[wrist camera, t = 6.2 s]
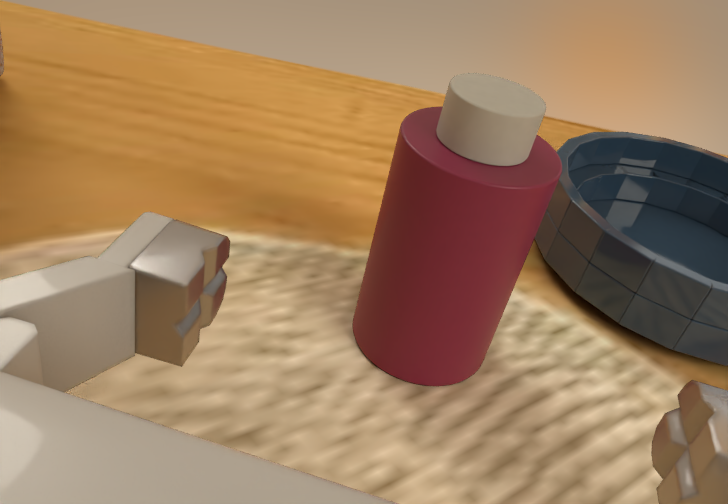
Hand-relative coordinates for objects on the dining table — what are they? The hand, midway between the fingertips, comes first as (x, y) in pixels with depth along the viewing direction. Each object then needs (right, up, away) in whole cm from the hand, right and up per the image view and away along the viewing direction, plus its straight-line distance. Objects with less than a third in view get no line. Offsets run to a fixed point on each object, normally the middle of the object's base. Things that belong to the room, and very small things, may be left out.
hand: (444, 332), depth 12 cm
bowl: (+15, 0, +24) cm, 28 cm away
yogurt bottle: (+1, -2, +16) cm, 16 cm away
